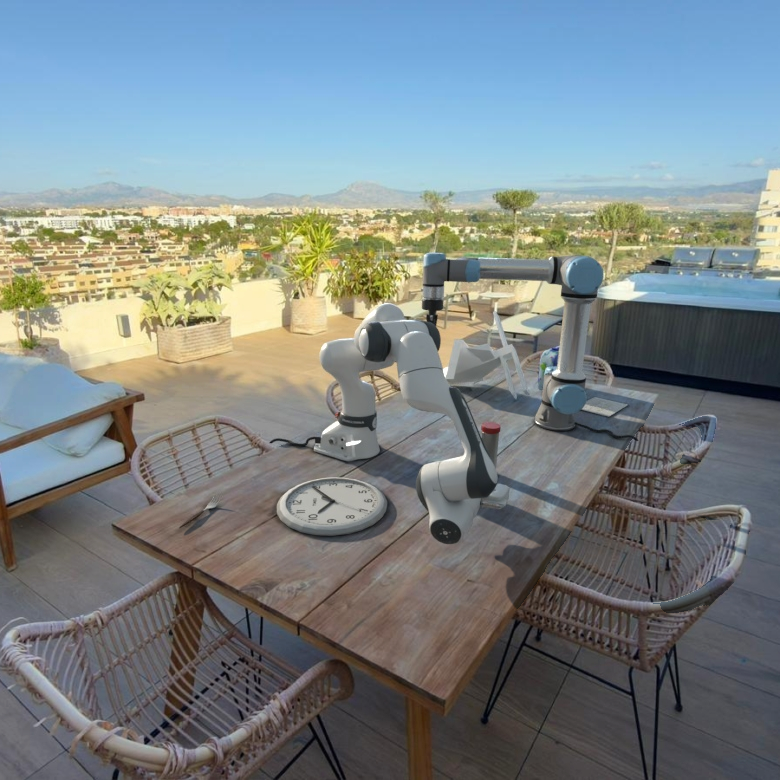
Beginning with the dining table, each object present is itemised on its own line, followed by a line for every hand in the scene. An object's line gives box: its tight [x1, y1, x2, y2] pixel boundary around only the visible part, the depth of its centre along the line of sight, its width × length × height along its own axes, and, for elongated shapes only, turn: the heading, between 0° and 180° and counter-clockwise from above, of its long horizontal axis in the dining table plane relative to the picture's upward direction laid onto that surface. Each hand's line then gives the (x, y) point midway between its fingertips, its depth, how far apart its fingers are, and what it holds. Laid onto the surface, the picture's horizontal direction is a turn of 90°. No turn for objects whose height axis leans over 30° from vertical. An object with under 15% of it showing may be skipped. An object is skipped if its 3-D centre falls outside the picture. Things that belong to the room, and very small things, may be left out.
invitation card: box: [580, 396, 629, 418], centre depth 226 cm, size 21×1×15 cm
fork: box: [178, 493, 223, 529], centre depth 137 cm, size 3×16×2 cm, turn 160°
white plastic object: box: [443, 310, 531, 400], centre depth 245 cm, size 37×45×31 cm
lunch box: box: [537, 345, 560, 391], centre depth 246 cm, size 26×11×21 cm, turn 134°
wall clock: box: [276, 476, 388, 537], centre depth 142 cm, size 30×2×30 cm
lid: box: [480, 421, 501, 434], centre depth 158 cm, size 6×6×2 cm
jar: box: [481, 430, 500, 469], centre depth 160 cm, size 5×5×16 cm
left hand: (475, 477), depth 141 cm, fingers open, 8 cm apart
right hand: (430, 357), depth 190 cm, fingers open, 13 cm apart
